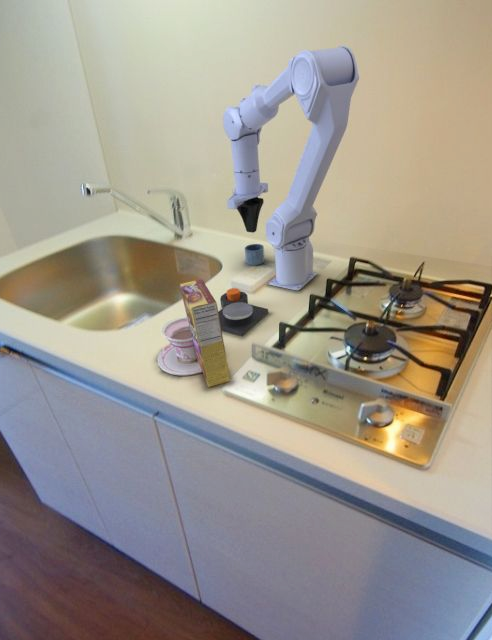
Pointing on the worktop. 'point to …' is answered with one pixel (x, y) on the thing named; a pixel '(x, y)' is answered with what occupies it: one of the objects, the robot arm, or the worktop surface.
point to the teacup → (178, 349)
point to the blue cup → (254, 254)
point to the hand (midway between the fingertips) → (251, 231)
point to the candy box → (205, 331)
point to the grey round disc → (237, 310)
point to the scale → (240, 325)
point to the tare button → (233, 294)
